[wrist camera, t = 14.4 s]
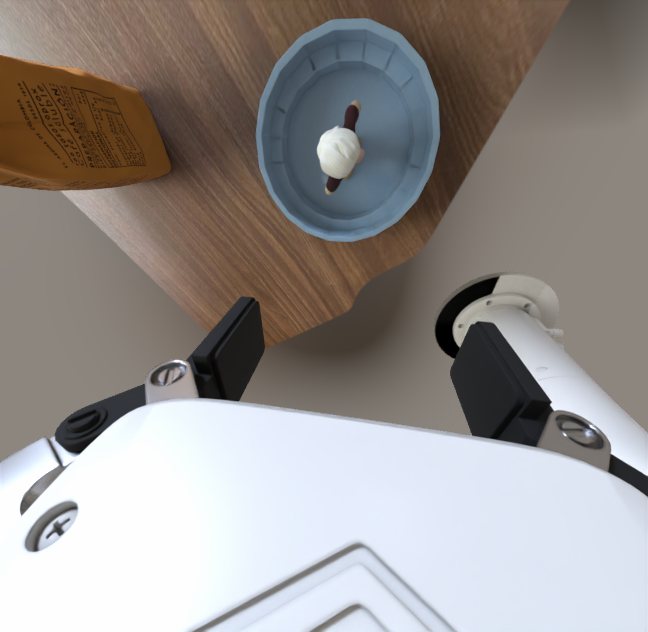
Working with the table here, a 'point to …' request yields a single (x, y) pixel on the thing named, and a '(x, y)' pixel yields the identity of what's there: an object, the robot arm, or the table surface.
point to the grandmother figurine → (341, 149)
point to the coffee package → (74, 130)
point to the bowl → (329, 111)
